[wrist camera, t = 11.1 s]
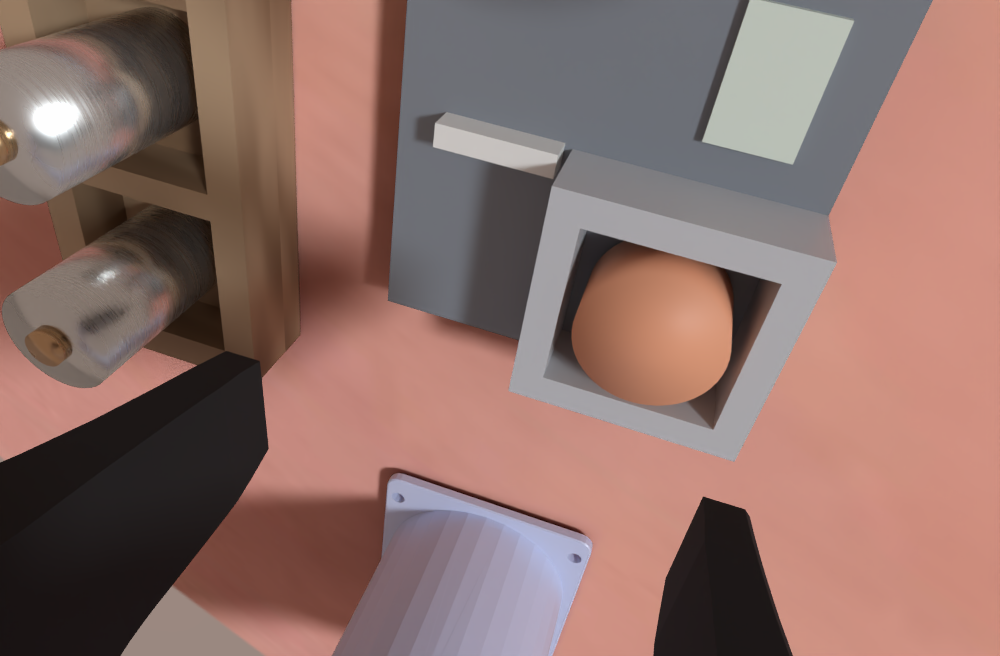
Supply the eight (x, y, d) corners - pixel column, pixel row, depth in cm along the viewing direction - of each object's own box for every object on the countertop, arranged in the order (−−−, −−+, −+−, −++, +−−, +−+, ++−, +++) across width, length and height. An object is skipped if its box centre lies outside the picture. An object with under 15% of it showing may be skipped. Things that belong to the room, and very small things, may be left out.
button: (706, 373, 19) (701, 423, 17) (573, 333, 19) (557, 379, 18) (755, 258, 17) (756, 303, 15) (605, 217, 17) (590, 257, 16)
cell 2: (235, 293, 23) (106, 411, 19) (154, 268, 24) (7, 377, 19) (227, 211, 21) (82, 319, 17) (139, 186, 22) (-27, 284, 17)
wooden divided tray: (300, 334, 25) (256, 384, 23) (138, 283, 26) (80, 326, 23) (289, -46, 18) (222, -27, 15) (63, -99, 18) (-30, -89, 16)
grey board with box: (737, 379, 21) (734, 461, 18) (403, 280, 22) (355, 342, 20) (931, -34, 14) (972, -1, 11) (436, -138, 16) (370, -129, 13)
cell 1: (221, 133, 20) (61, 228, 15) (125, 108, 20) (-59, 193, 16) (210, 20, 18) (24, 89, 13) (105, -5, 18) (-110, 52, 14)
